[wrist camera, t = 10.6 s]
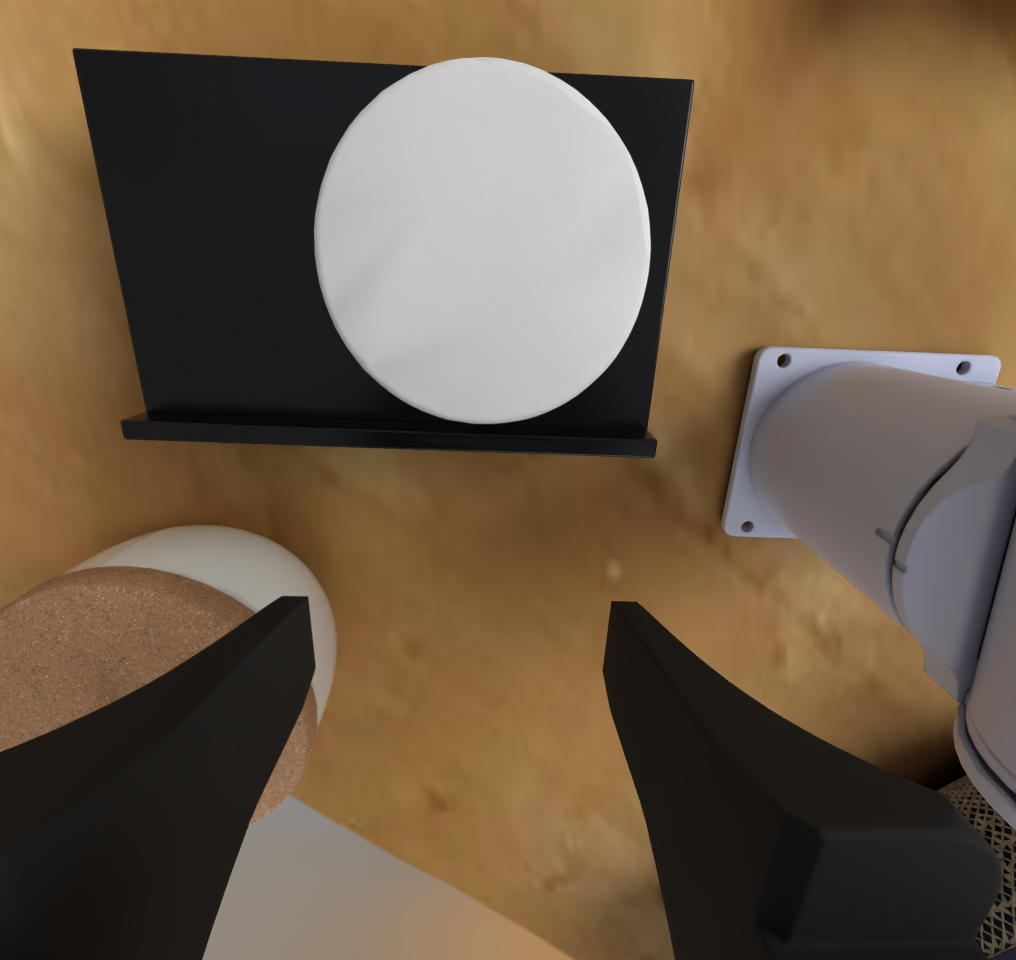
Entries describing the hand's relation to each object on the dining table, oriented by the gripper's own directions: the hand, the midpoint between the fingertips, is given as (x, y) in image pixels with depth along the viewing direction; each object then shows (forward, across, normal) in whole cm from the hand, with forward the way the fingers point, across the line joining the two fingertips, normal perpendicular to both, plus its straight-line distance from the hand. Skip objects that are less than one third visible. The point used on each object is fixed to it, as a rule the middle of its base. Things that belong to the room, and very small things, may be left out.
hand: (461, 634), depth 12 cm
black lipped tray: (+10, +2, -8) cm, 13 cm away
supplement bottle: (+6, -1, -8) cm, 10 cm away
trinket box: (+11, +10, +6) cm, 16 cm away
